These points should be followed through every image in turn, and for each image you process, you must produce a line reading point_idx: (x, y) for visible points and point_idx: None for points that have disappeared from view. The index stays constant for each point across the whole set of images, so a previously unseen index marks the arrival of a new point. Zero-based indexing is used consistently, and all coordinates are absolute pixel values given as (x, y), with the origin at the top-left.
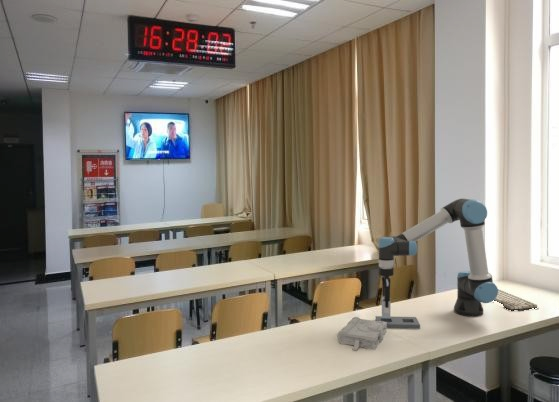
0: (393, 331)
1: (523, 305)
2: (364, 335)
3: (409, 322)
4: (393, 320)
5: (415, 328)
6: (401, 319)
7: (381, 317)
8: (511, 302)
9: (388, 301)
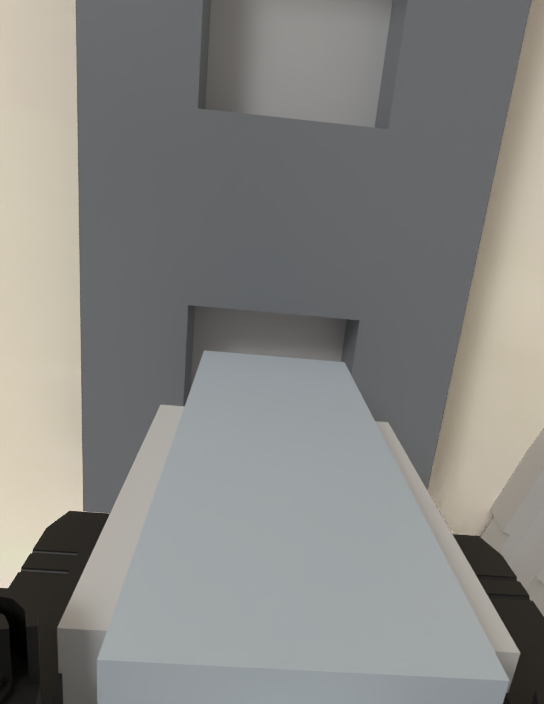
0: (519, 325)
1: None
2: None
3: (411, 9)
4: (285, 284)
5: None
6: (240, 128)
7: (139, 439)
8: None
9: (504, 668)
